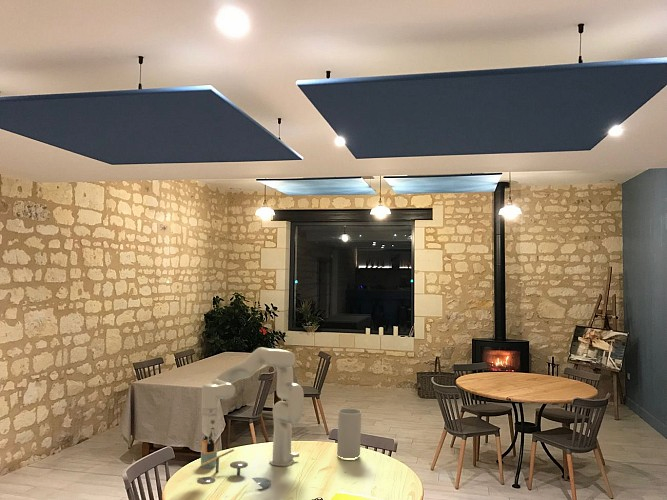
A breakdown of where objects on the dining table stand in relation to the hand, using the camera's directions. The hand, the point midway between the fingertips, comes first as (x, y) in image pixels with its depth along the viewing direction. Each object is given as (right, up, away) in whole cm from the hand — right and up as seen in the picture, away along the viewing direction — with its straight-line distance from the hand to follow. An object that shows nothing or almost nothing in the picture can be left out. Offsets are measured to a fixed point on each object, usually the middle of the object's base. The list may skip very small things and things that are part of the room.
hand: (208, 449), depth 248 cm
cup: (-4, -17, +18) cm, 25 cm away
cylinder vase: (+67, -20, +42) cm, 82 cm away
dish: (+23, -17, 0) cm, 29 cm away
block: (0, -1, 0) cm, 1 cm away
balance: (+4, -16, +6) cm, 18 cm away
